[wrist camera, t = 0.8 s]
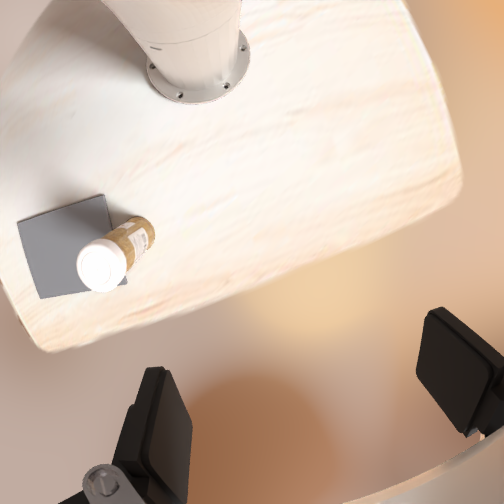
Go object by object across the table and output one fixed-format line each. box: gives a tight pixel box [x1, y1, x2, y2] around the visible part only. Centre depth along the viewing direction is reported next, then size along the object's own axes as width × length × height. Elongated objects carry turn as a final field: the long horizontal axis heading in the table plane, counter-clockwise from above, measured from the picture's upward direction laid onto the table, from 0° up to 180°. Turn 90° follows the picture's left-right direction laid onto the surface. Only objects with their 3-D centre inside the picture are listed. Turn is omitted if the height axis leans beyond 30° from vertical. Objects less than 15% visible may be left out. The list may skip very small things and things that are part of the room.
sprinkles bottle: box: [76, 217, 155, 292], centre depth 29 cm, size 5×5×14 cm
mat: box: [17, 195, 127, 299], centre depth 35 cm, size 16×12×1 cm
